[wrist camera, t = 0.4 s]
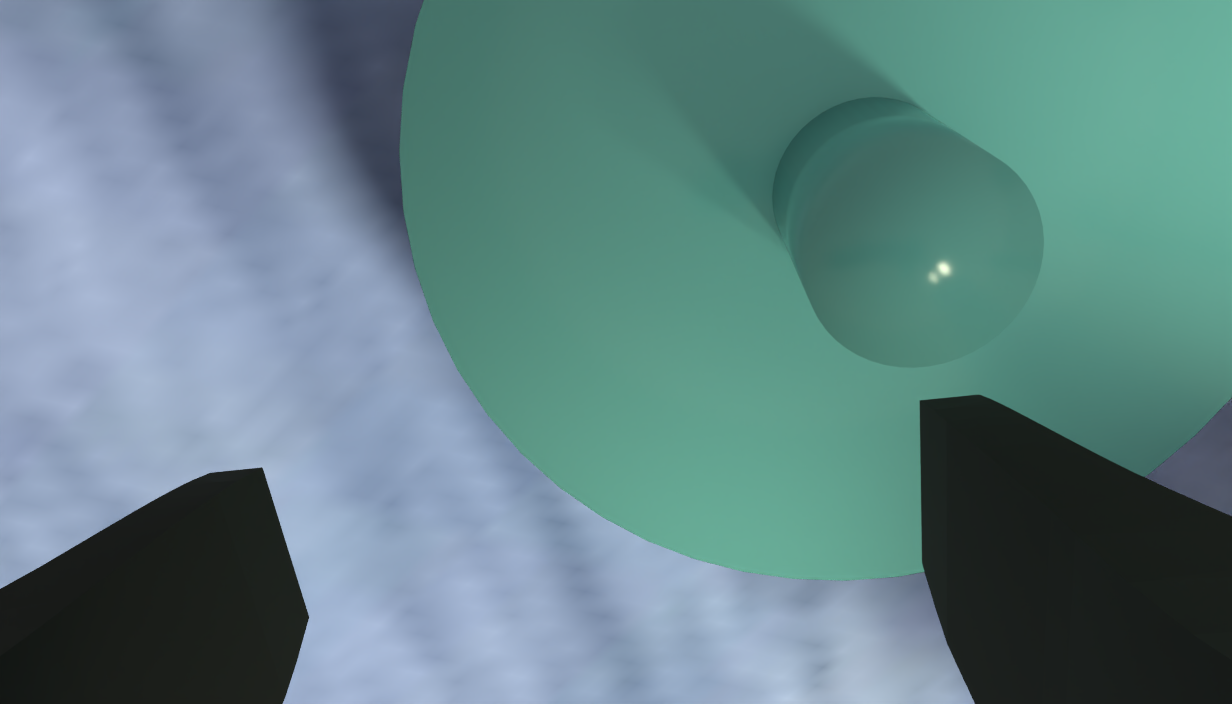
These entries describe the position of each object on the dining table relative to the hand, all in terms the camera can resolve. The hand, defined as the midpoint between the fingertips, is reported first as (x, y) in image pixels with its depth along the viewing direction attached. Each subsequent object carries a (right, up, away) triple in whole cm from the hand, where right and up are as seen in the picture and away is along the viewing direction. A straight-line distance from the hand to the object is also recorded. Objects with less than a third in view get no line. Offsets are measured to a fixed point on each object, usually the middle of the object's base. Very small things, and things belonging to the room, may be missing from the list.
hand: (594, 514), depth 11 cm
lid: (+4, +5, +6) cm, 8 cm away
